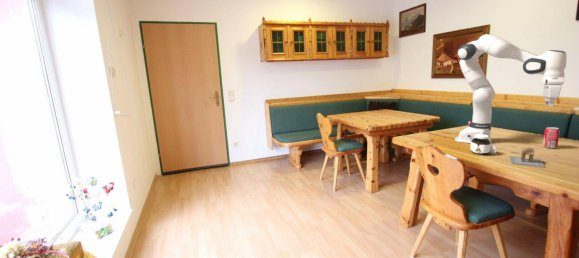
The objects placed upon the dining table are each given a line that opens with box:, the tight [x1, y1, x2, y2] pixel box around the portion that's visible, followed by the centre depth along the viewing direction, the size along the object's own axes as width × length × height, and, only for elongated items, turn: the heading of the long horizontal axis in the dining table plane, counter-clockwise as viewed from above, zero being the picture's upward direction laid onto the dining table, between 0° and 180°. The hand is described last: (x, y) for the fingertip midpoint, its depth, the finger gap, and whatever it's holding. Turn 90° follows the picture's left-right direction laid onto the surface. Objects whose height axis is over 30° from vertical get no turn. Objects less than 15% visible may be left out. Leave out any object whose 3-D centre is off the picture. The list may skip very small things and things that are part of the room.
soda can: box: [542, 126, 561, 150], centre depth 181 cm, size 7×7×13 cm
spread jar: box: [470, 134, 497, 156], centre depth 176 cm, size 12×11×12 cm
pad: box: [509, 155, 546, 168], centre depth 159 cm, size 14×14×1 cm
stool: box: [520, 147, 536, 163], centre depth 158 cm, size 5×5×7 cm
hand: (548, 105), depth 158 cm, fingers open, 8 cm apart
